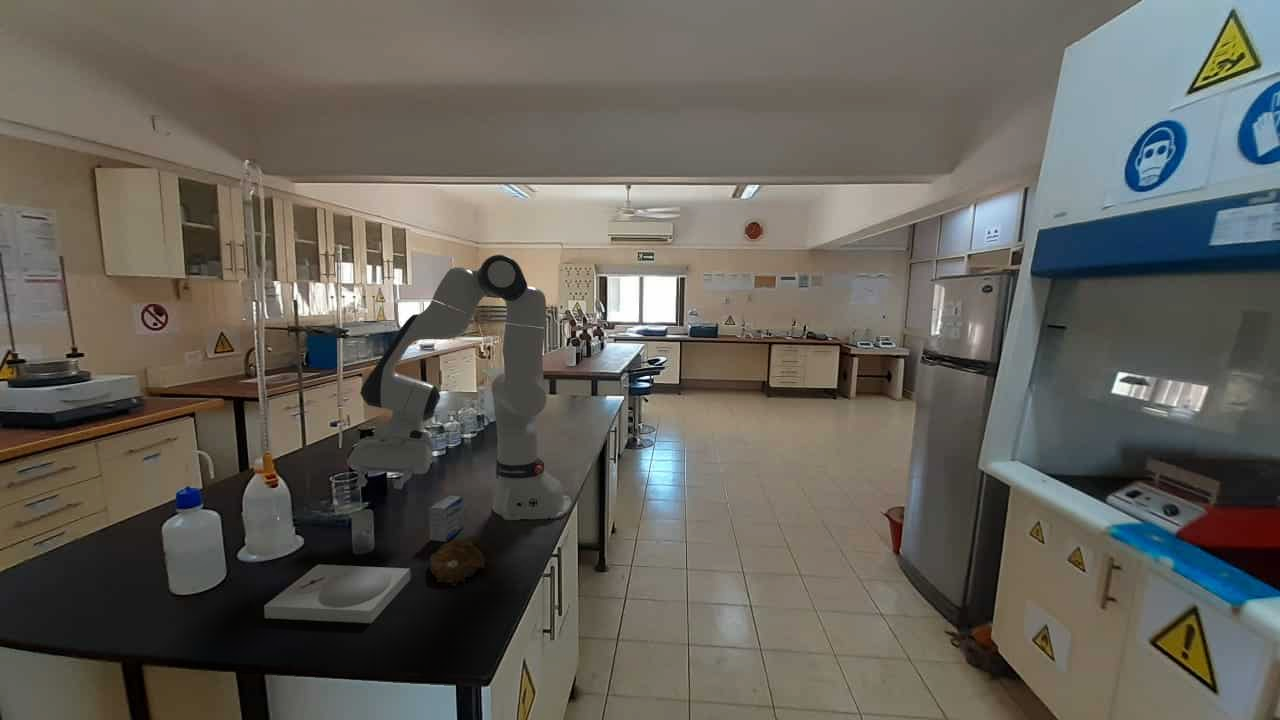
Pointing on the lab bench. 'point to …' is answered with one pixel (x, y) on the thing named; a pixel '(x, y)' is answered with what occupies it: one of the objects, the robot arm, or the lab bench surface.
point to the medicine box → (446, 518)
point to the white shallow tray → (339, 594)
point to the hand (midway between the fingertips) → (378, 486)
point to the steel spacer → (362, 531)
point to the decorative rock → (456, 561)
